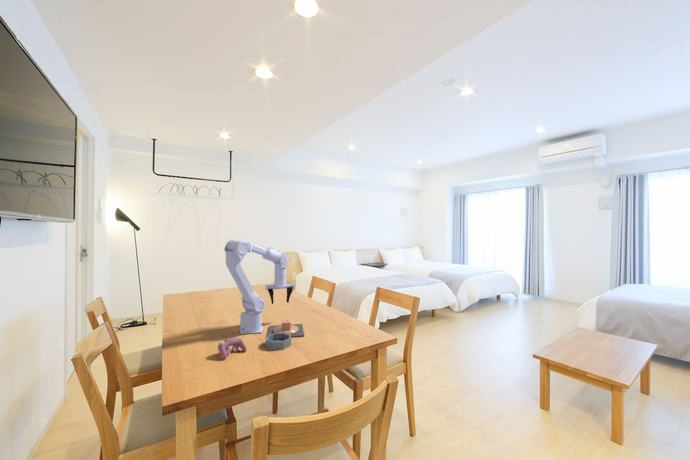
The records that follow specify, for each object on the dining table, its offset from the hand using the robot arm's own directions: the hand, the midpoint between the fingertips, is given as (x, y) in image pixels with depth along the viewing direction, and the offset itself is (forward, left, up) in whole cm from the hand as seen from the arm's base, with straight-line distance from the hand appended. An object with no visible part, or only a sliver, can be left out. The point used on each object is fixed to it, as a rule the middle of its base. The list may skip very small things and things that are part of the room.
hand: (280, 302), depth 147 cm
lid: (+3, -14, -9) cm, 17 cm away
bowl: (0, -28, -10) cm, 30 cm away
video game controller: (-17, -34, -10) cm, 39 cm away
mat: (+3, -14, -10) cm, 17 cm away
